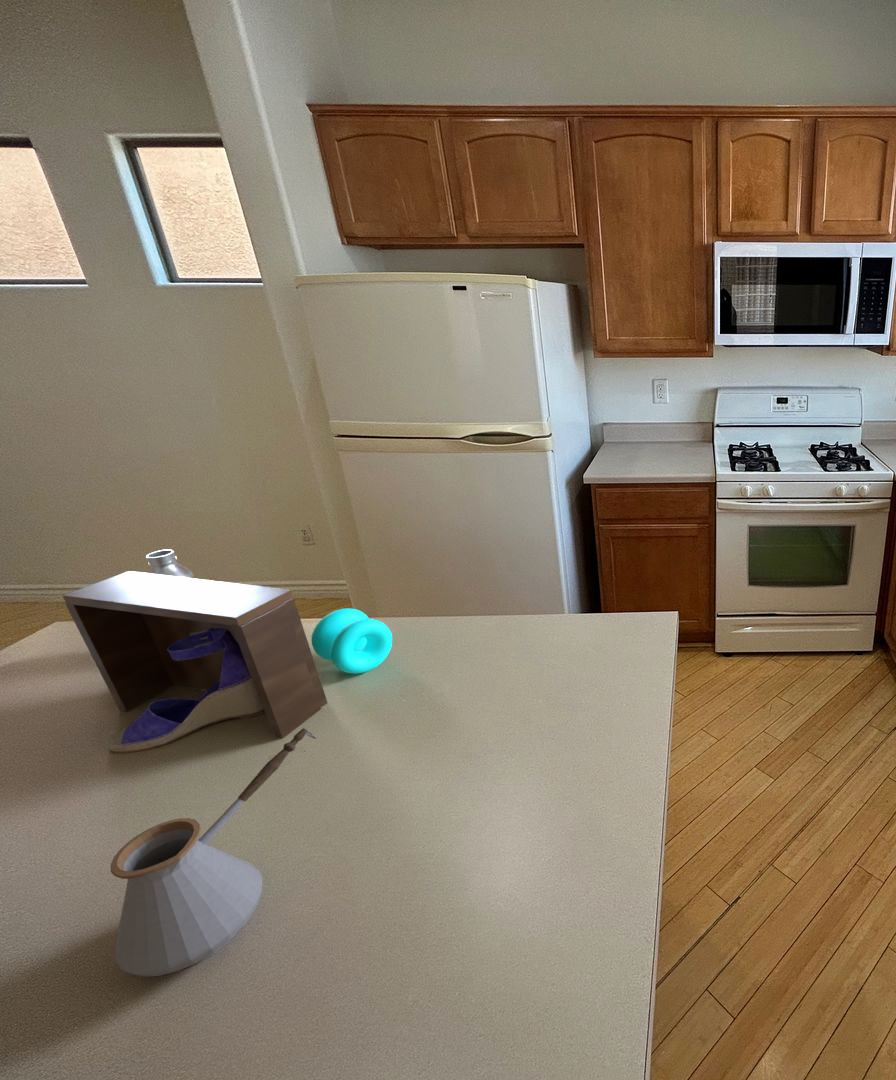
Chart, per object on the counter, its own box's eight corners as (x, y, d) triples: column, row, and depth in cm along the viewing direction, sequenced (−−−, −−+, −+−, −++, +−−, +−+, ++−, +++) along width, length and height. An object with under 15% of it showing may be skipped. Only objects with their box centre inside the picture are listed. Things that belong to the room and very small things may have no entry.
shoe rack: (119, 710, 90) (60, 595, 82) (176, 678, 98) (127, 570, 90) (282, 738, 85) (237, 618, 76) (329, 702, 92) (292, 589, 84)
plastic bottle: (175, 661, 102) (133, 564, 95) (176, 646, 107) (136, 552, 99) (221, 649, 106) (183, 554, 99) (220, 634, 111) (184, 543, 103)
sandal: (131, 722, 87) (91, 642, 82) (280, 697, 94) (252, 620, 88) (98, 759, 80) (51, 674, 75) (261, 729, 87) (230, 648, 81)
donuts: (344, 686, 96) (329, 637, 93) (316, 667, 101) (301, 620, 98) (400, 658, 104) (389, 612, 100) (372, 642, 109) (360, 598, 105)
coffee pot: (170, 1012, 52) (103, 906, 46) (100, 964, 55) (30, 860, 50) (373, 829, 70) (344, 737, 64) (311, 802, 74) (278, 712, 68)
